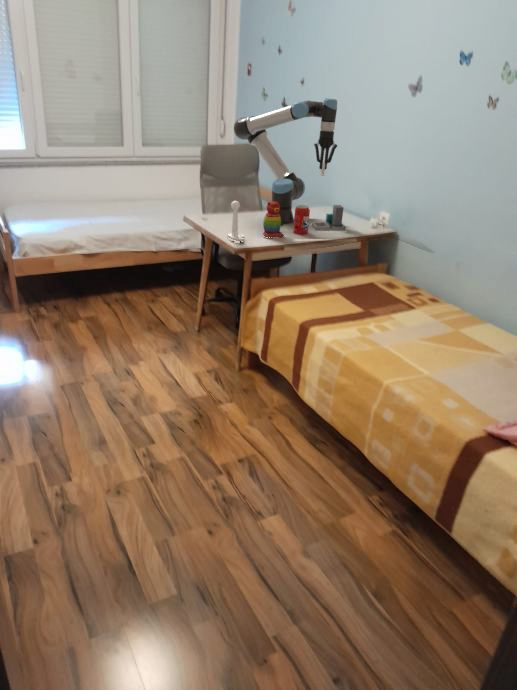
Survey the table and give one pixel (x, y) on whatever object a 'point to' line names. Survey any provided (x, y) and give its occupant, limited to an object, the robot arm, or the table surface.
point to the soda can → (301, 220)
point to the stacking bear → (272, 221)
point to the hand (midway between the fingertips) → (322, 175)
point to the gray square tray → (324, 227)
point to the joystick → (235, 223)
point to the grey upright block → (337, 215)
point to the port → (329, 222)
